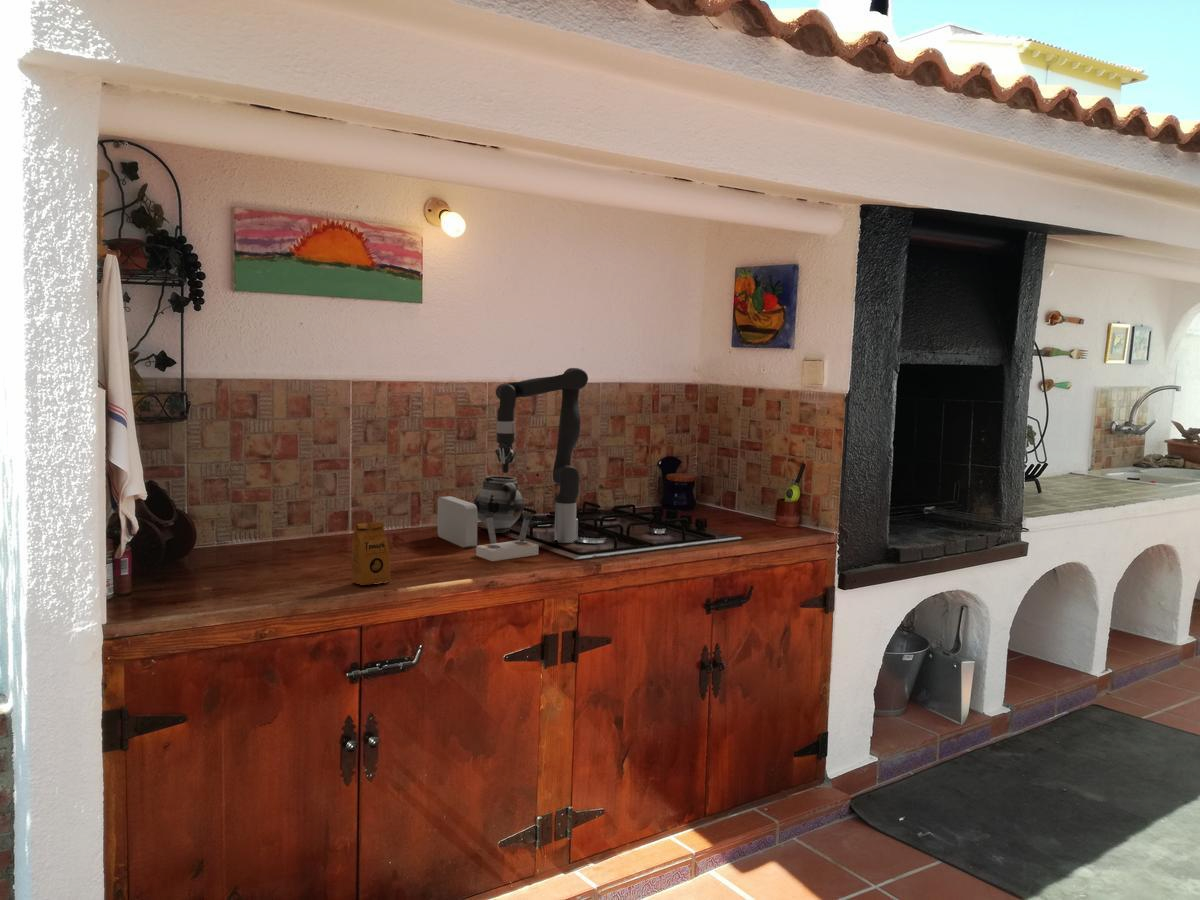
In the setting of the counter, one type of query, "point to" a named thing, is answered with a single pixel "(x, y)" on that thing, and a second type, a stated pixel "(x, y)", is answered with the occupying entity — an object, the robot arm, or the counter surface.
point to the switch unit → (507, 550)
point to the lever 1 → (490, 527)
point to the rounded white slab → (457, 521)
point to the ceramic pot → (499, 502)
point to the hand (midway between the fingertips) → (505, 472)
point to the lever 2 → (525, 525)
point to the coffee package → (370, 554)
